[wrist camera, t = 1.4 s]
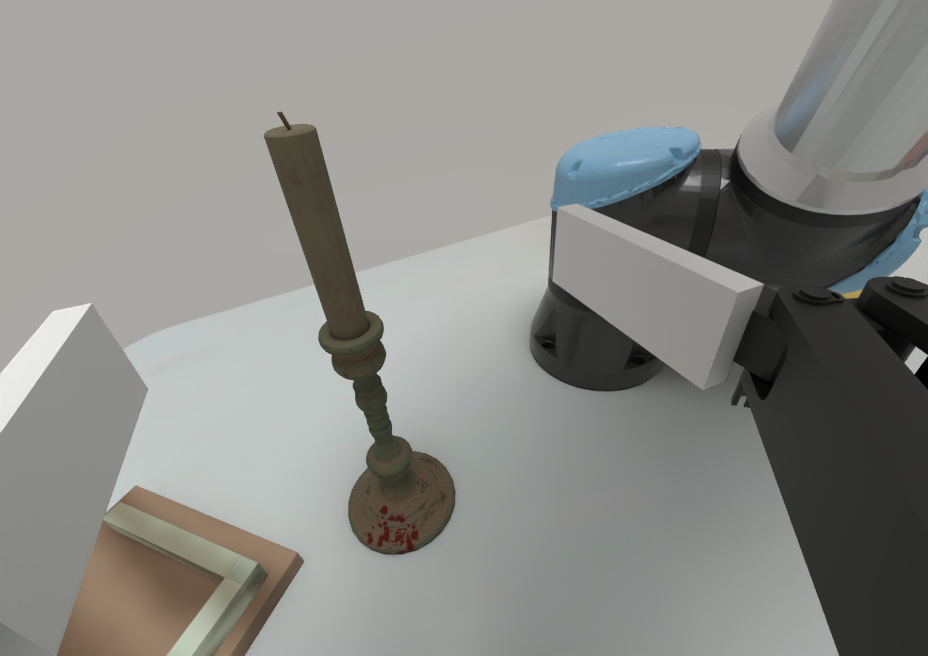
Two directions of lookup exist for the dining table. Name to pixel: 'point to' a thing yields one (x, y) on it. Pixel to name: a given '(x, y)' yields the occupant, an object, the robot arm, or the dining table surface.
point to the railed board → (174, 584)
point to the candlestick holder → (358, 359)
